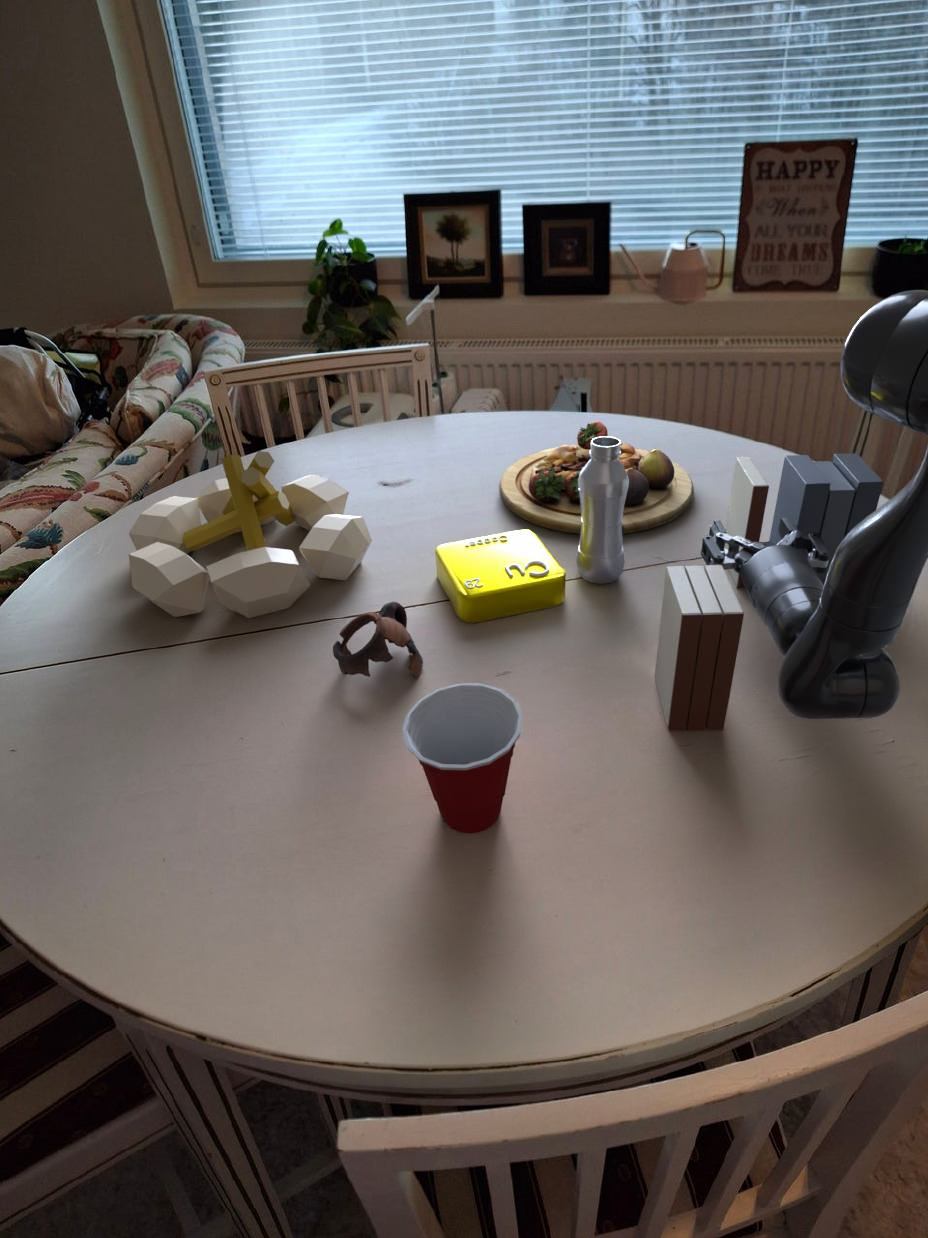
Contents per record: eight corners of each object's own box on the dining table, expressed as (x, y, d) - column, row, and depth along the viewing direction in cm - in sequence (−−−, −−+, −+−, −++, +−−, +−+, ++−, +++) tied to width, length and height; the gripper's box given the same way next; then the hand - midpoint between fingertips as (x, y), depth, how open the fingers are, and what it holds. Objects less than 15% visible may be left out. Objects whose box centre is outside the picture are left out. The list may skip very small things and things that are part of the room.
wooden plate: (531, 447, 152) (531, 405, 147) (705, 465, 141) (710, 420, 137) (471, 523, 127) (469, 475, 123) (675, 551, 117) (681, 499, 112)
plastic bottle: (618, 592, 109) (628, 453, 98) (569, 585, 111) (573, 448, 100) (627, 569, 114) (637, 434, 102) (580, 562, 116) (585, 430, 105)
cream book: (734, 554, 116) (749, 456, 107) (750, 588, 108) (769, 486, 100) (721, 554, 116) (735, 456, 107) (737, 588, 108) (754, 486, 100)
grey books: (833, 551, 115) (857, 452, 106) (856, 584, 107) (883, 481, 99) (766, 553, 115) (784, 455, 107) (785, 586, 108) (806, 483, 100)
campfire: (397, 588, 112) (384, 476, 103) (146, 653, 103) (106, 536, 93) (332, 493, 139) (317, 397, 130) (129, 537, 130) (97, 436, 120)
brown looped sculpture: (420, 697, 93) (377, 656, 88) (358, 712, 98) (315, 673, 93) (440, 619, 101) (402, 577, 96) (382, 636, 106) (343, 597, 101)
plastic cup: (396, 795, 80) (383, 703, 73) (493, 759, 84) (489, 668, 77) (439, 874, 72) (429, 779, 65) (545, 831, 75) (545, 736, 69)
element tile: (531, 552, 119) (531, 523, 116) (570, 604, 107) (571, 573, 104) (433, 571, 116) (431, 541, 113) (462, 626, 104) (460, 595, 101)
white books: (705, 676, 93) (722, 564, 85) (723, 730, 85) (744, 614, 77) (654, 677, 93) (666, 566, 85) (668, 731, 86) (682, 615, 77)
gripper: (857, 561, 89) (809, 497, 102) (727, 565, 90) (696, 501, 103) (842, 617, 93) (798, 548, 107) (718, 620, 94) (690, 551, 107)
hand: (748, 525), depth 105 cm, fingers open, 8 cm apart
